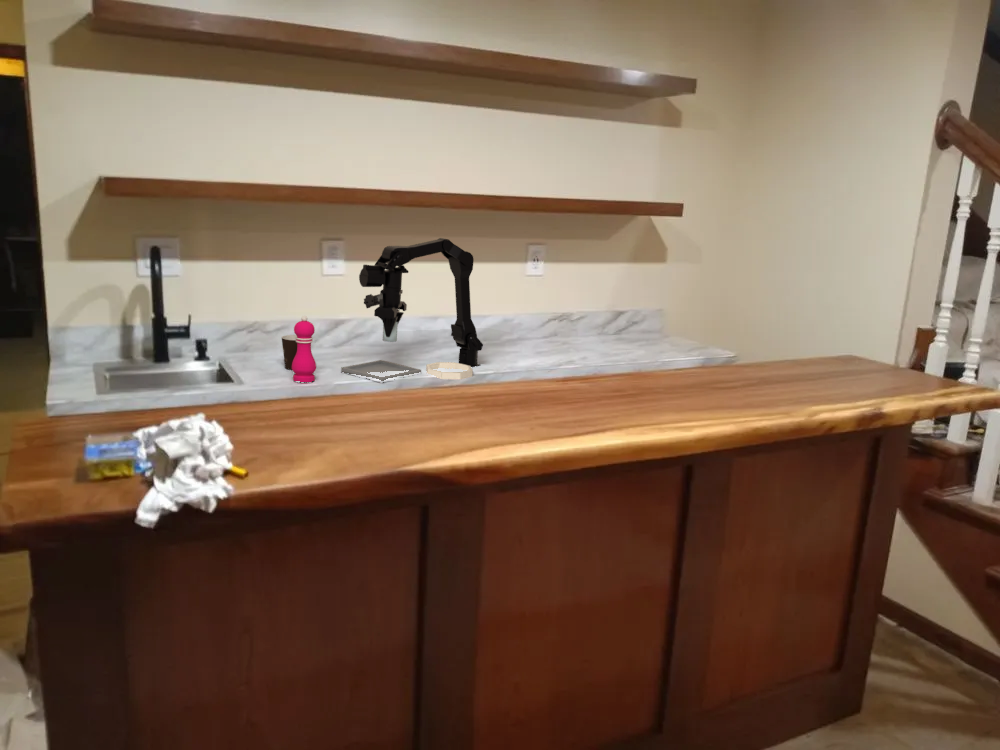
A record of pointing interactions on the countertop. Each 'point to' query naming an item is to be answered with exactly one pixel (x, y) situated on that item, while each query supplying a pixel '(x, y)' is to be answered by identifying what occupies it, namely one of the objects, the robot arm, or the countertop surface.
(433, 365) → the bowl
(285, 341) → the coffee mug
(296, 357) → the pepper mill
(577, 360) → the countertop surface
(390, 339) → the peg
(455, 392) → the countertop surface
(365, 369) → the tray
